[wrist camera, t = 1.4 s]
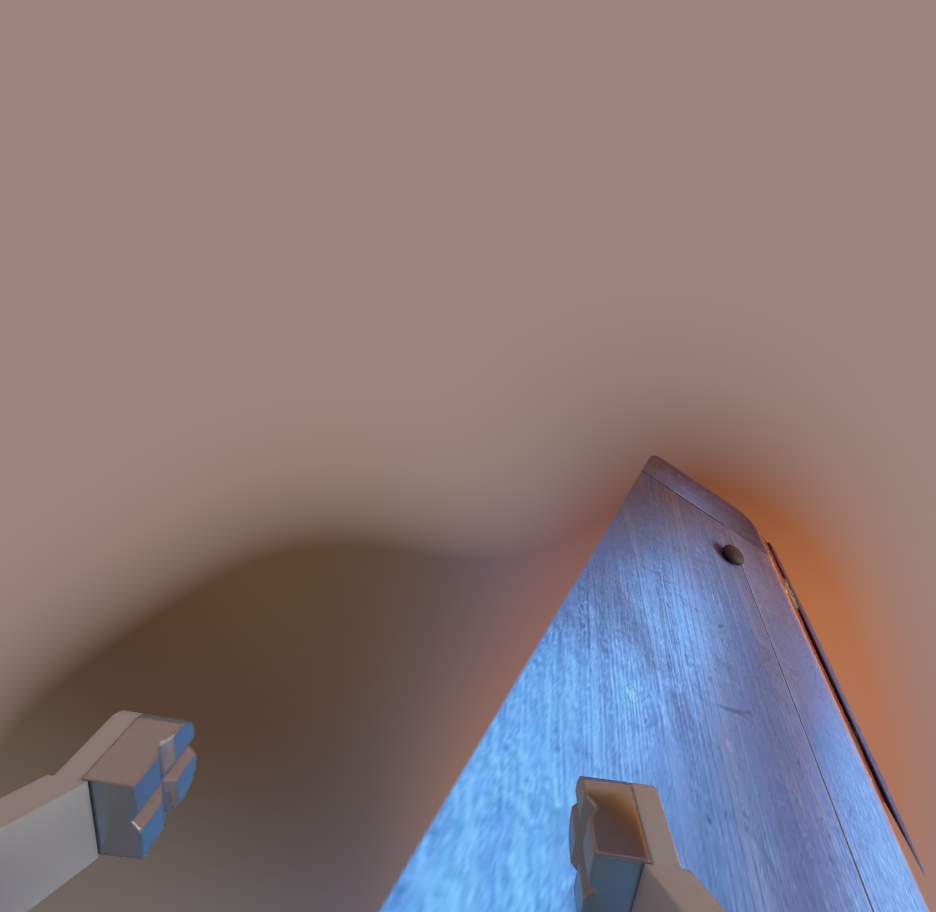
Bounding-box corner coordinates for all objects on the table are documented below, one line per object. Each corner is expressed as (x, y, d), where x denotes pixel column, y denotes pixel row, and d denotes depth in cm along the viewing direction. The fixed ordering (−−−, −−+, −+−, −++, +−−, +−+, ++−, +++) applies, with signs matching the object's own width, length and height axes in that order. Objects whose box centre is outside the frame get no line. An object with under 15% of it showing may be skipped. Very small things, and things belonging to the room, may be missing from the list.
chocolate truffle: (739, 563, 69) (749, 556, 68) (735, 571, 67) (744, 564, 66) (722, 545, 70) (732, 539, 69) (717, 552, 67) (727, 545, 67)
